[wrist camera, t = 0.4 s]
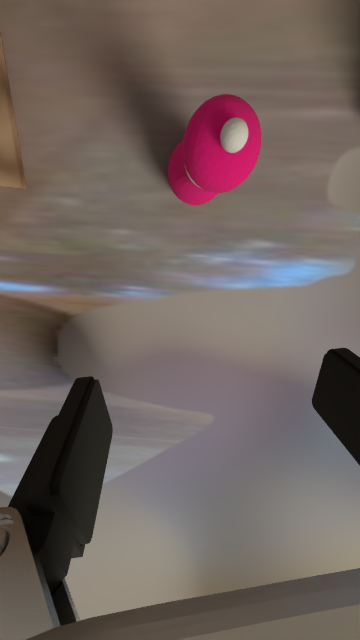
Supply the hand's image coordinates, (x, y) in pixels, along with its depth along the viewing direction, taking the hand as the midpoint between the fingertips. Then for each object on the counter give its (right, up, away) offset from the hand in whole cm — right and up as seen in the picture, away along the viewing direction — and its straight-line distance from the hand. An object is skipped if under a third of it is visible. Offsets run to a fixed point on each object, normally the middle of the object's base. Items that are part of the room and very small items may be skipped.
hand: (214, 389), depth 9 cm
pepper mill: (0, +23, +22) cm, 32 cm away
